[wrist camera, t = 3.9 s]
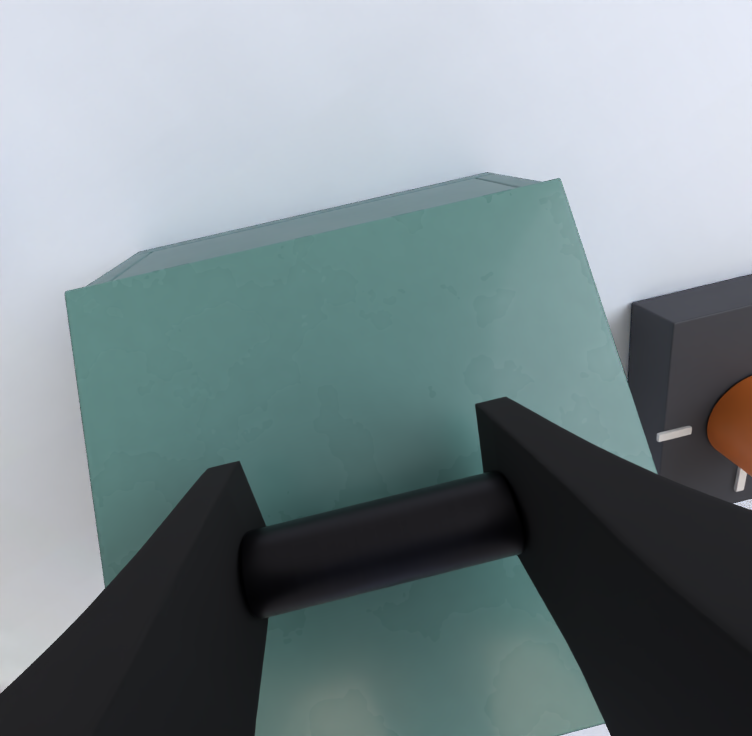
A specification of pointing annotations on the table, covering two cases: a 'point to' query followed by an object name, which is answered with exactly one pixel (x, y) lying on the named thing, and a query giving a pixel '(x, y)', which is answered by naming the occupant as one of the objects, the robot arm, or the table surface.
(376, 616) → the lid
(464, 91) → the table surface
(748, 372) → the thermostat box
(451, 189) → the teal hollow box
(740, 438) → the dial
